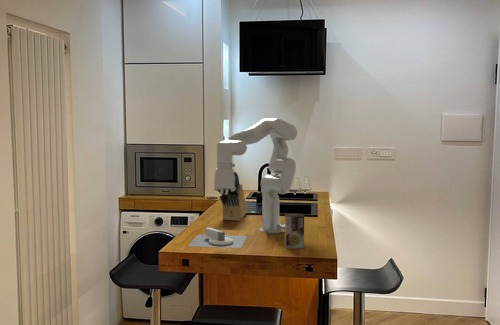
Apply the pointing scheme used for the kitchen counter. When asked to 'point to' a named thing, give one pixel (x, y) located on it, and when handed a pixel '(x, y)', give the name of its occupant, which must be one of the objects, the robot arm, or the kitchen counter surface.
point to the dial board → (204, 242)
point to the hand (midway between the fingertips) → (224, 202)
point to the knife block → (235, 203)
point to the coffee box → (294, 230)
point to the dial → (217, 237)
